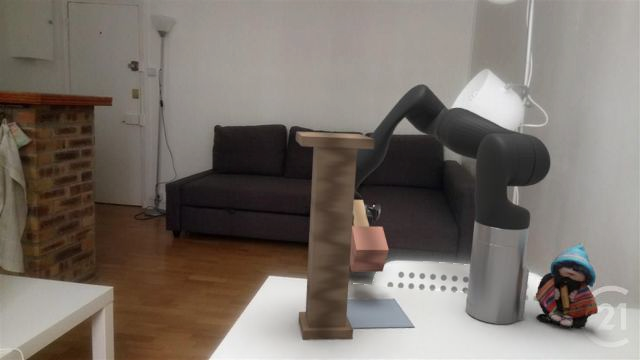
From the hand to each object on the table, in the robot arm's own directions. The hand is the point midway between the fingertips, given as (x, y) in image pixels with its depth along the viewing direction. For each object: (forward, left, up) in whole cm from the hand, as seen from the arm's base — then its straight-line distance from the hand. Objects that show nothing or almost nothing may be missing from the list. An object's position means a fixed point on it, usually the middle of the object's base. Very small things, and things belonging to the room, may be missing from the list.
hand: (360, 220), depth 100 cm
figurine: (-33, +19, -14) cm, 41 cm away
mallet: (0, +1, -4) cm, 4 cm away
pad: (0, +13, -14) cm, 19 cm away
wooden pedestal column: (+10, +18, -14) cm, 24 cm away
